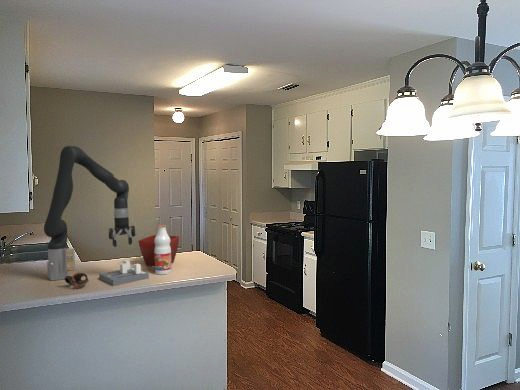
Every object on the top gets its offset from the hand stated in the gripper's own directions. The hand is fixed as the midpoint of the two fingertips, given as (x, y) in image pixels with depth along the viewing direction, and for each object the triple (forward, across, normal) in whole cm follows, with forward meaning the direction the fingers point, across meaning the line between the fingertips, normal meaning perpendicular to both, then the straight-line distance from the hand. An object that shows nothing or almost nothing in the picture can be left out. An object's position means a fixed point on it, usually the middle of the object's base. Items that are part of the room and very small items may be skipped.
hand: (122, 245), depth 233 cm
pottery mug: (+19, -24, +3) cm, 31 cm away
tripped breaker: (+15, 0, 0) cm, 15 cm away
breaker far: (+15, +5, +6) cm, 17 cm away
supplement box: (+19, -16, +44) cm, 50 cm away
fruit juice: (+19, +22, -4) cm, 29 cm away
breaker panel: (+19, 0, 0) cm, 19 cm away
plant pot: (+19, +31, +16) cm, 39 cm away
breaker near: (+15, +5, -7) cm, 17 cm away
